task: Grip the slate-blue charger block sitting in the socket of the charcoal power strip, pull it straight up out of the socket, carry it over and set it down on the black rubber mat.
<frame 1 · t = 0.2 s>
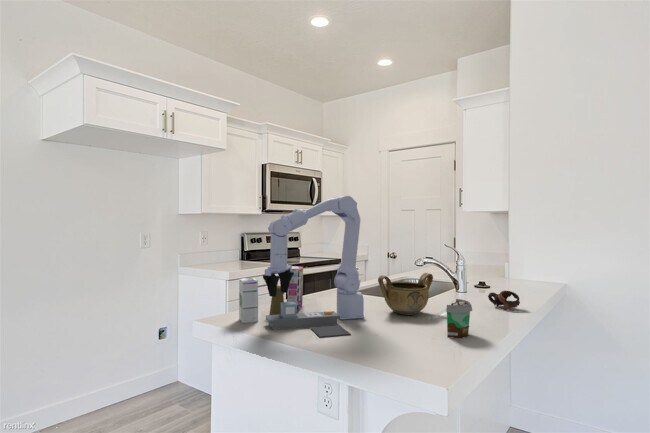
hand: (278, 294, 133), 10 cm above the worktop, tool pointing down, fingers open, 7 cm apart
power strip: (302, 324, 132), on the worktop
dark brown looped piece: (503, 308, 160), on the worktop
food container: (461, 335, 121), on the worktop
mat: (330, 331, 123), on the worktop
syrup box: (248, 321, 136), on the worktop
charger: (288, 319, 130), point 2 cm above the worktop, touching power strip
ceramic bowl: (406, 313, 149), on the worktop
candy bar box: (295, 309, 155), on the worktop
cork: (277, 316, 143), on the worktop
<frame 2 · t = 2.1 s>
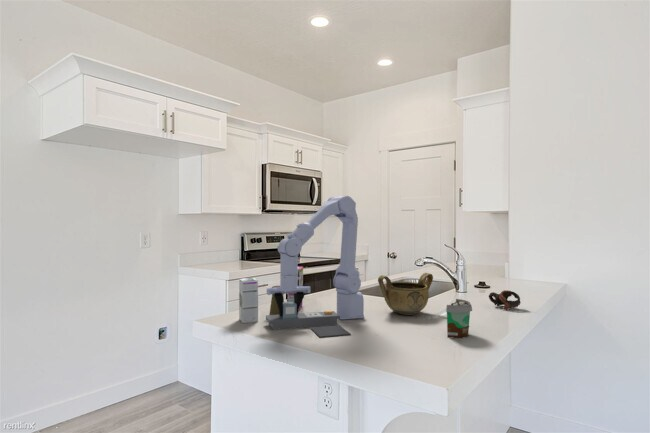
hand: (288, 315, 130), 3 cm above the worktop, tool pointing down, fingers closed on charger, 4 cm apart
charger: (288, 319, 130), point 2 cm above the worktop, touching gripper, power strip
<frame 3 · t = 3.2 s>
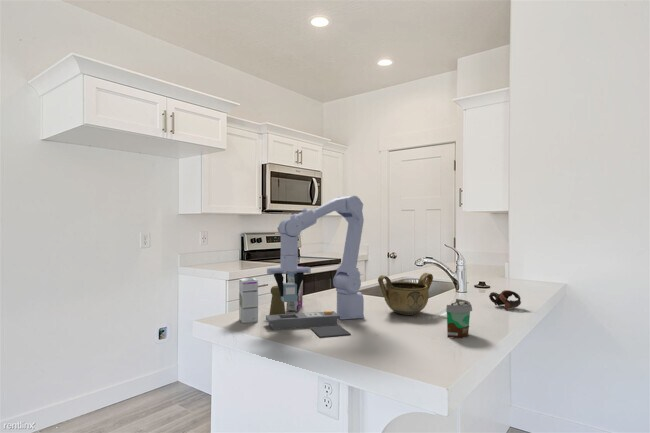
hand: (288, 295, 130), 10 cm above the worktop, tool pointing down, fingers closed on charger, 4 cm apart
charger: (288, 300, 130), point 8 cm above the worktop, touching gripper
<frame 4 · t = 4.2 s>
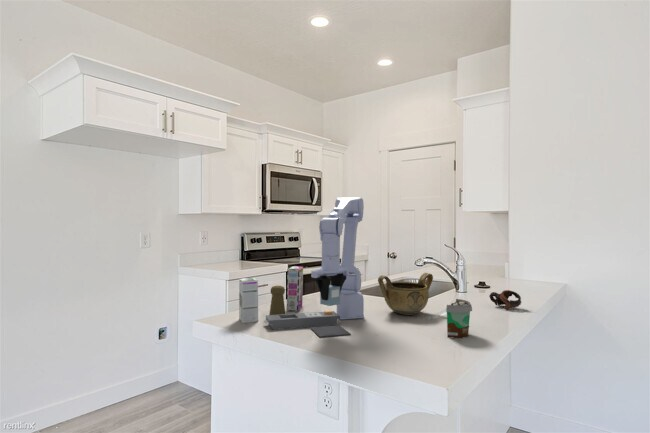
hand: (330, 298, 123), 10 cm above the worktop, tool pointing down, fingers closed on charger, 4 cm apart
charger: (330, 304, 123), point 9 cm above the worktop, touching gripper
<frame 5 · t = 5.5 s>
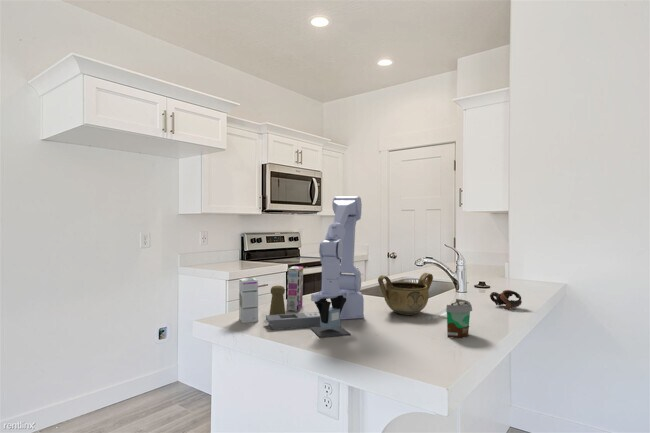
hand: (330, 321, 123), 3 cm above the worktop, tool pointing down, fingers closed on charger, 4 cm apart
charger: (330, 326, 123), point 2 cm above the worktop, touching gripper
when the fingers open (3 cm above the worktop, at t = 6.4 s): charger stays where it is, resting on mat.
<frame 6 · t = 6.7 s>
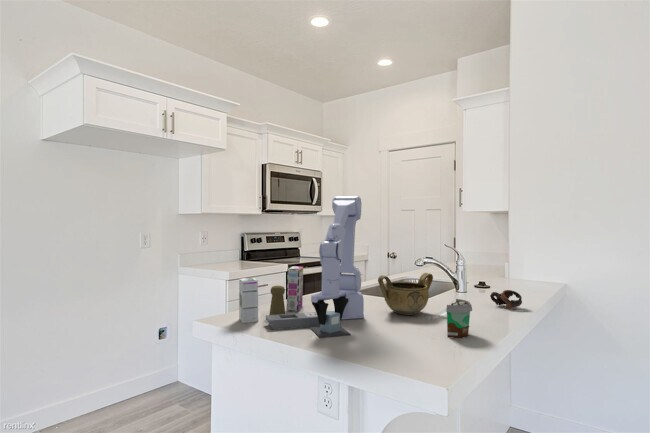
hand: (330, 322, 123), 3 cm above the worktop, tool pointing down, fingers open, 6 cm apart
charger: (329, 330, 123), resting on mat
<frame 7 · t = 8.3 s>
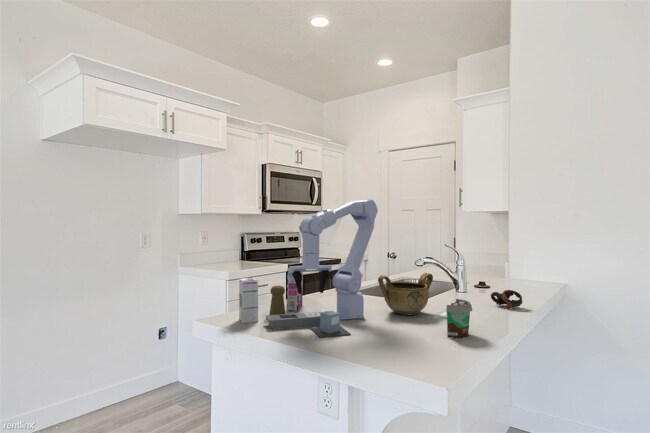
hand: (310, 293, 133), 10 cm above the worktop, tool pointing down, fingers open, 7 cm apart
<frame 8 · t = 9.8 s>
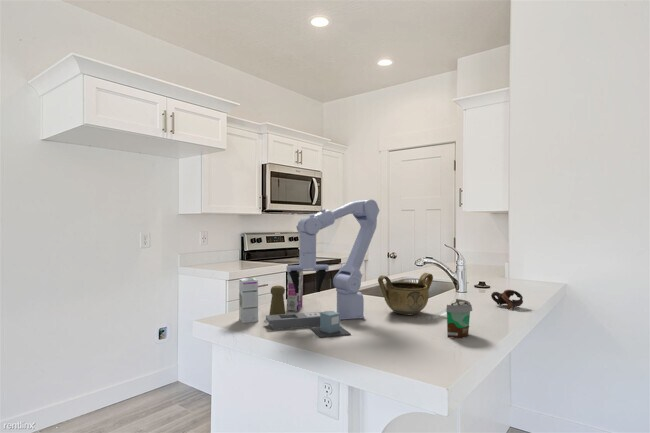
hand: (307, 292, 134), 10 cm above the worktop, tool pointing down, fingers open, 7 cm apart
at the end: charger inside the target area on the mat (0.1 cm from its centre), point 0.4 cm above the mat's base; charger tilted 0°; the gripper is holding nothing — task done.
